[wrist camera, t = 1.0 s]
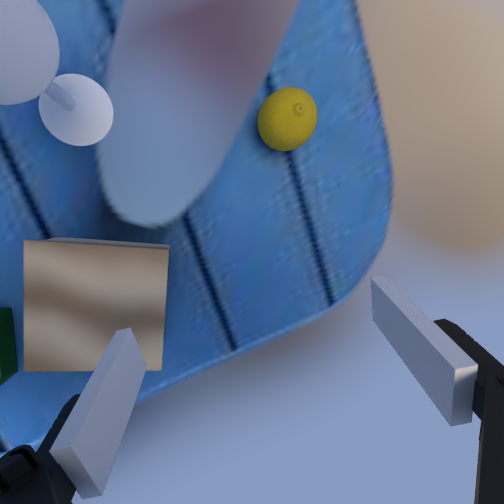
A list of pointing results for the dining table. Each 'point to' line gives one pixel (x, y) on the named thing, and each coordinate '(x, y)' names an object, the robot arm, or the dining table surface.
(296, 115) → the lemon
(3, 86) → the champagne flute
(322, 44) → the dining table surface
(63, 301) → the oak riser
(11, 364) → the fresh milk carton
